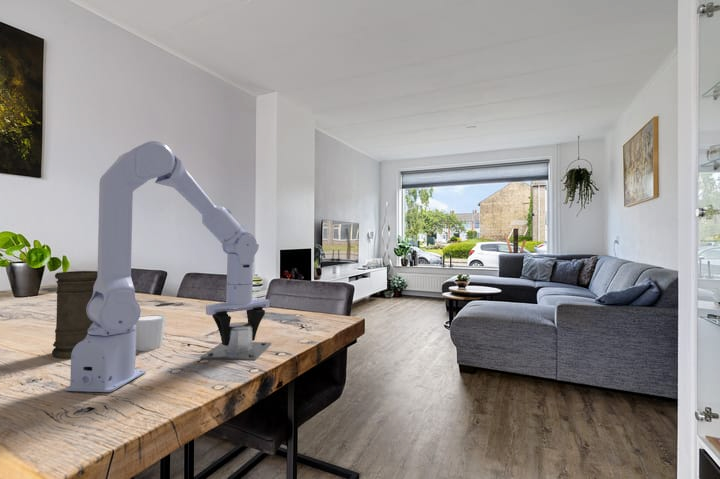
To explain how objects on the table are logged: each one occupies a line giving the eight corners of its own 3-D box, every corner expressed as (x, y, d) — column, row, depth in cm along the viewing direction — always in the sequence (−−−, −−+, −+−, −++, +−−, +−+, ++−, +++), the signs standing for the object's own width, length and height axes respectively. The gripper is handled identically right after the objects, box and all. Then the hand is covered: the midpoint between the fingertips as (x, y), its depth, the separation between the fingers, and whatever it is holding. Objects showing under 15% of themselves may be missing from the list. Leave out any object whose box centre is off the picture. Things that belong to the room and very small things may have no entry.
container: (74, 360, 75) (76, 274, 75) (40, 356, 76) (42, 272, 77) (112, 347, 83) (114, 271, 84) (80, 345, 85) (82, 269, 85)
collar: (254, 350, 82) (255, 325, 82) (229, 354, 79) (230, 328, 79) (246, 344, 87) (246, 321, 87) (222, 347, 83) (222, 323, 84)
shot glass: (125, 348, 83) (125, 318, 83) (153, 341, 89) (154, 313, 89) (142, 353, 80) (143, 322, 80) (171, 345, 86) (172, 316, 86)
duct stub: (255, 359, 76) (255, 344, 76) (200, 358, 77) (201, 342, 77) (271, 344, 88) (271, 330, 88) (223, 342, 89) (224, 329, 89)
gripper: (260, 280, 91) (259, 333, 91) (201, 284, 81) (200, 343, 81) (274, 282, 85) (273, 339, 85) (213, 287, 76) (211, 351, 76)
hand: (238, 342), depth 83 cm, fingers closed on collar, 6 cm apart
